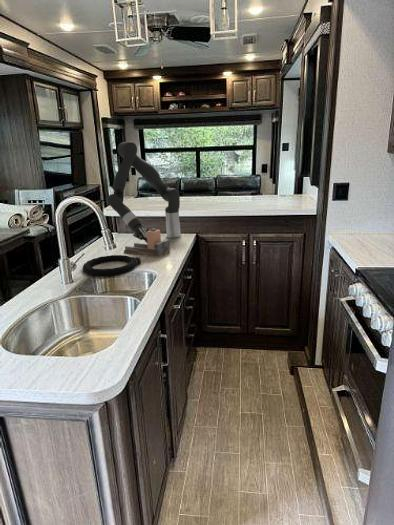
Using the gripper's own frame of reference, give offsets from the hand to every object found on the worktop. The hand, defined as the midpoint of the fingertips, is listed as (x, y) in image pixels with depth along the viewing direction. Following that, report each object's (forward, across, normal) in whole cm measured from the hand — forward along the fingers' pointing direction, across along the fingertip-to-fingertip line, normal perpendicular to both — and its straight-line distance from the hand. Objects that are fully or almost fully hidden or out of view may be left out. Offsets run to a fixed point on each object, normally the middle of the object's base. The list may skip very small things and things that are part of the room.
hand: (150, 243), depth 205 cm
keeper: (+5, 0, +1) cm, 5 cm away
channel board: (+2, 0, +6) cm, 6 cm away
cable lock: (+3, -30, +6) cm, 31 cm away
